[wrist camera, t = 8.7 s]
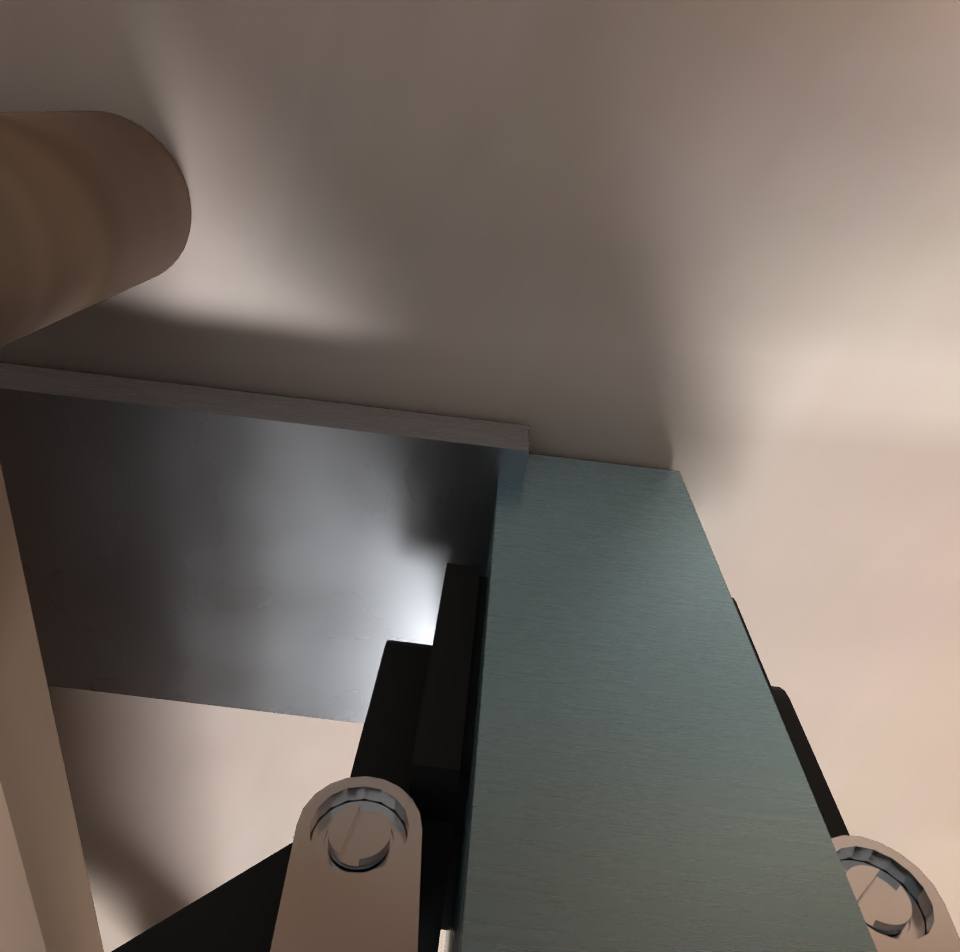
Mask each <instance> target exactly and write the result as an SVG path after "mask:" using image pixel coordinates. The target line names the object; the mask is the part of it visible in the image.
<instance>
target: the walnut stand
mask: <svg viewBox="0 0 960 952" xmlns="http://www.w3.org/2000/svg"><path fill="white" fill-rule="evenodd" d="M190 225H191V207H190V199H189V195H188V191H187V187H186V185H185V182H184V179H183V177H182V175H181V173H180V171H179V169H178V167H177V165H176V163H175V162H174V160H173V159H172V157H171V155H170V154H169V153H168V152H167V150H166V149H165V148H164V147H163V145H162V144H161V143H160V142H159V141H158V140H157V139H156V138H155V137H154V136H152V135H151V134H150V133H149V132H147V131H146V130H145V129H143V128H142V127H140V126H139V125H137V124H136V123H134V122H132V121H130V120H128V119H126V118H123V117H121V116H118V115H115V114H111V113H106V112H99V111H59V112H0V347H2V346H5V345H7V344H9V343H11V342H13V341H16V340H18V339H20V338H22V337H24V336H26V335H29V334H31V333H33V332H35V331H37V330H40V329H42V328H44V327H46V326H48V325H51V324H53V323H55V322H57V321H59V320H61V319H64V318H66V317H68V316H70V315H72V314H75V313H77V312H79V311H81V310H83V309H86V308H88V307H90V306H92V305H94V304H96V303H99V302H101V301H103V300H105V299H107V298H110V297H112V296H114V295H116V294H118V293H120V292H123V291H125V290H127V289H129V288H131V287H134V286H136V285H138V284H140V283H142V282H145V281H147V280H149V279H151V278H153V277H155V276H158V275H159V274H161V273H163V272H164V271H166V270H167V269H168V268H169V267H171V266H172V265H173V264H174V262H175V261H176V260H177V259H178V258H179V256H180V255H181V253H182V251H183V250H184V247H185V245H186V242H187V240H188V236H189V232H190ZM0 952H104V950H103V946H102V941H101V936H100V931H99V927H98V922H97V917H96V913H95V908H94V903H93V898H92V894H91V889H90V884H89V880H88V875H87V870H86V865H85V861H84V856H83V851H82V846H81V842H80V837H79V832H78V828H77V823H76V818H75V813H74V809H73V804H72V799H71V794H70V790H69V785H68V780H67V776H66V771H65V766H64V761H63V757H62V752H61V747H60V742H59V738H58V733H57V728H56V724H55V719H54V714H53V709H52V705H51V700H50V695H49V690H48V686H47V681H46V676H45V672H44V667H43V662H42V657H41V653H40V648H39V643H38V639H37V634H36V629H35V624H34V620H33V615H32V610H31V605H30V601H29V596H28V591H27V587H26V582H25V577H24V572H23V568H22V563H21V558H20V553H19V549H18V544H17V539H16V535H15V530H14V525H13V520H12V516H11V511H10V506H9V501H8V497H7V492H6V487H5V483H4V478H3V473H2V468H1V464H0Z"/></svg>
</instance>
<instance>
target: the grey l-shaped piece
mask: <svg viewBox="0 0 960 952" xmlns="http://www.w3.org/2000/svg"><path fill="white" fill-rule="evenodd" d="M528 452H529V426H528V425H520V424H511V423H503V422H494V421H486V420H478V419H469V418H461V417H452V416H444V415H436V414H427V413H419V412H410V411H402V410H394V409H385V408H377V407H368V406H360V405H351V404H343V403H335V402H326V401H318V400H309V399H301V398H293V397H284V396H276V395H267V394H259V393H251V392H242V391H234V390H225V389H217V388H209V387H200V386H192V385H183V384H175V383H167V382H158V381H150V380H141V379H133V378H125V377H116V376H108V375H99V374H91V373H83V372H74V371H66V370H57V369H49V368H41V367H32V366H24V365H15V364H7V363H0V464H1V468H2V473H3V478H4V483H5V487H6V492H7V497H8V501H9V506H10V511H11V516H12V520H13V525H14V530H15V535H16V539H17V544H18V549H19V553H20V558H21V563H22V568H23V572H24V577H25V582H26V587H27V591H28V596H29V601H30V605H31V610H32V615H33V620H34V624H35V629H36V634H37V639H38V643H39V648H40V653H41V657H42V662H43V667H44V672H45V676H46V681H47V685H50V686H58V687H66V688H74V689H83V690H91V691H99V692H107V693H116V694H124V695H132V696H140V697H149V698H157V699H165V700H173V701H182V702H190V703H198V704H207V705H215V706H223V707H231V708H240V709H248V710H256V711H264V712H273V713H281V714H289V715H297V716H306V717H314V718H322V719H331V720H339V721H347V722H355V723H365V719H366V715H367V712H368V708H369V704H370V700H371V696H372V693H373V689H374V685H375V681H376V677H377V674H378V670H379V666H380V662H381V658H382V655H383V651H384V647H385V644H386V642H387V640H394V641H402V642H410V643H419V644H427V645H432V644H433V639H434V633H435V627H436V622H437V616H438V610H439V604H440V599H441V593H442V587H443V582H444V576H445V570H446V565H447V563H453V564H461V565H470V566H478V567H481V568H480V576H485V577H487V589H486V601H485V612H484V624H483V636H482V648H481V659H480V671H479V683H478V695H477V706H476V718H475V730H474V741H473V753H472V763H471V772H470V781H469V788H468V796H467V803H466V810H465V817H464V825H463V832H462V839H461V846H460V853H459V861H458V868H457V875H456V882H455V889H454V897H453V904H452V911H451V918H450V925H449V930H446V940H445V950H444V952H878V951H877V949H876V946H875V944H874V941H873V939H872V937H871V934H870V932H869V929H868V927H867V924H866V922H865V920H864V917H863V915H862V912H861V910H860V907H859V905H858V903H857V900H856V898H855V895H854V893H853V890H852V888H851V886H850V883H849V881H848V878H847V876H846V874H845V871H844V869H843V866H842V864H841V861H840V859H839V857H838V854H837V852H836V849H835V847H834V844H833V842H832V840H831V837H830V835H829V832H828V830H827V828H826V825H825V823H824V820H823V818H822V815H821V813H820V811H819V808H818V806H817V803H816V801H815V798H814V796H813V794H812V791H811V789H810V786H809V784H808V781H807V779H806V777H805V774H804V772H803V769H802V767H801V765H800V762H799V760H798V757H797V755H796V752H795V750H794V748H793V745H792V743H791V740H790V738H789V735H788V733H787V731H786V728H785V726H784V723H783V721H782V719H781V716H780V714H779V711H778V709H777V706H776V704H775V702H774V699H773V697H772V694H771V692H770V689H769V687H768V685H767V682H766V680H765V677H764V675H763V673H762V670H761V668H760V665H759V663H758V660H757V658H756V656H755V653H754V651H753V648H752V646H751V643H750V641H749V639H748V636H747V634H746V631H745V629H744V626H743V624H742V622H741V619H740V617H739V614H738V612H737V610H736V607H735V605H734V602H733V600H732V597H731V595H730V593H729V590H728V588H727V585H726V583H725V580H724V578H723V576H722V573H721V571H720V568H719V566H718V564H717V561H716V559H715V556H714V554H713V551H712V549H711V547H710V544H709V542H708V539H707V537H706V534H705V532H704V530H703V527H702V525H701V522H700V520H699V518H698V515H697V513H696V510H695V508H694V505H693V503H692V501H691V498H690V496H689V493H688V491H687V488H686V486H685V484H684V481H683V479H682V476H681V474H680V472H679V471H671V470H663V469H654V468H646V467H637V466H629V465H621V464H612V463H604V462H595V461H587V460H579V459H570V458H562V457H553V456H545V455H537V454H528Z"/></svg>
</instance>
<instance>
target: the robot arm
mask: <svg viewBox="0 0 960 952" xmlns="http://www.w3.org/2000/svg"><path fill="white" fill-rule="evenodd" d="M480 568H481V567H478V566H470V565H461V564H453V563H447V565H446V570H445V576H444V582H443V587H442V593H441V599H440V604H439V610H438V616H437V622H436V627H435V633H434V639H433V644H432V645H427V644H419V643H410V642H402V641H394V640H387V642H386V644H385V647H384V651H383V655H382V658H381V662H380V666H379V670H378V674H377V677H376V681H375V685H374V689H373V693H372V696H371V700H370V704H369V708H368V712H367V715H366V719H365V723H364V727H363V731H362V734H361V738H360V742H359V746H358V750H357V753H356V757H355V761H354V765H353V769H352V772H351V776H350V778H346V779H343V780H340V781H337V782H334V783H331V784H329V785H328V786H326V787H325V788H323V789H322V790H320V791H319V792H317V793H316V794H315V795H314V796H313V797H312V798H311V799H310V801H309V802H308V803H307V804H306V805H305V807H304V808H303V810H302V813H301V815H300V818H299V820H298V823H297V826H296V830H295V835H294V840H293V843H291V844H289V845H288V846H286V847H284V848H283V849H281V850H279V851H278V852H276V853H274V854H273V855H271V856H269V857H268V858H266V859H264V860H263V861H261V862H259V863H258V864H256V865H254V866H253V867H251V868H249V869H248V870H246V871H244V872H243V873H241V874H239V875H238V876H236V877H234V878H233V879H231V880H230V881H228V882H226V883H225V884H223V885H221V886H220V887H218V888H216V889H215V890H213V891H211V892H210V893H208V894H206V895H205V896H203V897H201V898H200V899H198V900H196V901H195V902H193V903H191V904H190V905H188V906H186V907H185V908H183V909H181V910H180V911H178V912H176V913H175V914H173V915H171V916H170V917H168V918H166V919H165V920H163V921H161V922H160V923H158V924H156V925H155V926H153V927H151V928H150V929H148V930H147V931H145V932H143V933H142V934H140V935H138V936H137V937H135V938H133V939H132V940H130V941H128V942H127V943H125V944H123V945H122V946H120V947H118V948H117V949H115V950H113V951H112V952H438V945H439V937H440V930H441V929H442V930H449V925H450V918H451V911H452V904H453V897H454V889H455V882H456V875H457V868H458V861H459V853H460V846H461V839H462V832H463V825H464V817H465V810H466V803H467V796H468V788H469V781H470V772H471V763H472V753H473V741H474V730H475V718H476V706H477V695H478V683H479V671H480V659H481V648H482V636H483V624H484V612H485V601H486V589H487V577H485V576H480ZM732 600H733V602H734V605H735V607H736V610H737V612H738V614H739V617H740V619H741V622H742V624H743V626H744V629H745V631H746V634H747V636H748V639H749V641H750V643H751V646H752V648H753V651H754V653H755V656H756V658H757V660H758V663H759V665H760V668H761V670H762V673H763V675H764V677H765V680H766V682H767V685H768V687H769V689H770V692H771V694H772V697H773V699H774V702H775V704H776V706H777V709H778V711H779V714H780V716H781V719H782V721H783V723H784V726H785V728H786V731H787V733H788V735H789V738H790V740H791V743H792V745H793V748H794V750H795V752H796V755H797V757H798V760H799V762H800V765H801V767H802V769H803V772H804V774H805V777H806V779H807V781H808V784H809V786H810V789H811V791H812V794H813V796H814V798H815V801H816V803H817V806H818V808H819V811H820V813H821V815H822V818H823V820H824V823H825V825H826V828H827V830H828V832H829V835H830V837H831V840H832V842H833V844H834V847H835V849H836V852H837V854H838V857H839V859H840V861H841V864H842V866H843V869H844V871H845V874H846V876H847V878H848V881H849V883H850V886H851V888H852V890H853V893H854V895H855V898H856V900H857V903H858V905H859V907H860V910H861V912H862V915H863V917H864V920H865V922H866V924H867V927H868V929H869V932H870V934H871V937H872V939H873V941H874V944H875V946H876V949H877V951H878V952H960V938H959V936H958V933H957V931H956V929H955V926H954V924H953V922H952V919H951V917H950V915H949V912H948V910H947V908H946V905H945V903H944V902H943V900H942V898H941V896H940V895H939V893H938V891H937V890H936V888H935V886H934V885H933V884H932V882H931V881H930V880H929V879H928V878H927V877H926V876H925V875H924V873H923V872H922V871H921V870H920V869H919V868H918V867H917V866H915V865H914V864H913V863H912V862H910V861H909V860H908V859H907V858H905V857H904V856H903V855H902V854H900V853H899V852H897V851H895V850H893V849H891V848H889V847H887V846H886V845H884V844H882V843H880V842H877V841H874V840H870V839H867V838H864V837H861V836H850V835H849V833H848V830H847V828H846V826H845V824H844V821H843V819H842V817H841V815H840V812H839V810H838V808H837V805H836V803H835V801H834V799H833V796H832V794H831V792H830V790H829V787H828V785H827V783H826V780H825V778H824V776H823V774H822V771H821V769H820V767H819V765H818V762H817V760H816V758H815V755H814V753H813V751H812V749H811V746H810V744H809V742H808V740H807V737H806V735H805V733H804V730H803V728H802V726H801V724H800V721H799V719H798V717H797V715H796V712H795V710H794V708H793V705H792V703H791V701H790V699H789V697H788V695H787V694H786V692H785V691H784V690H783V689H781V688H780V687H774V686H771V685H770V682H769V680H768V678H767V675H766V673H765V670H764V668H763V666H762V663H761V661H760V658H759V656H758V654H757V651H756V649H755V646H754V644H753V642H752V639H751V637H750V635H749V632H748V630H747V627H746V625H745V623H744V620H743V618H742V615H741V613H740V611H739V608H738V606H737V603H736V601H735V600H734V598H732Z"/></svg>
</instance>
